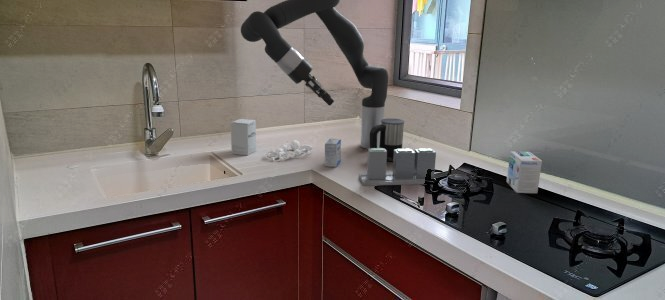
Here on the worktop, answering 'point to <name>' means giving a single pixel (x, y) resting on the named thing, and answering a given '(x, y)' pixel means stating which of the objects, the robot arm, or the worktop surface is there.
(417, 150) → the grey module rack
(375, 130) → the milk frother
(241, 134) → the supplement box
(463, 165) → the worktop surface
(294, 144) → the white lumpy mound
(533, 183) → the light bulb box
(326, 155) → the medicine box
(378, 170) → the block
